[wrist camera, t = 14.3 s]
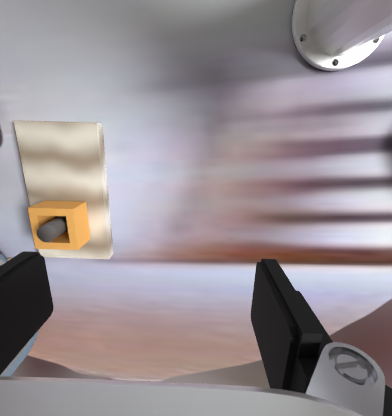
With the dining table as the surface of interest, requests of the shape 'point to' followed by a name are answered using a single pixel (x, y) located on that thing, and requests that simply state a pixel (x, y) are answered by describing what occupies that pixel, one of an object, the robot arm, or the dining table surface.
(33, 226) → the orange square frame
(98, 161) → the peg board
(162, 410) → the robot arm
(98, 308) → the dining table surface
